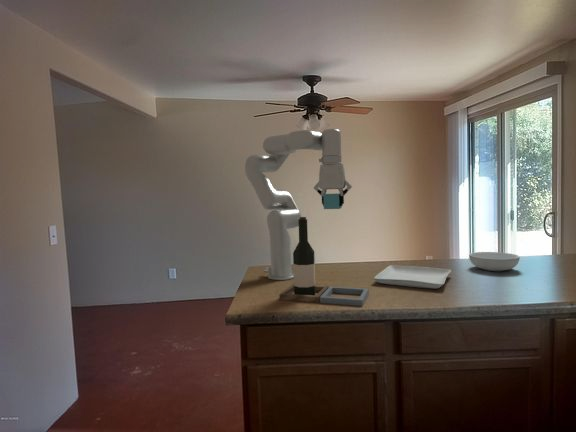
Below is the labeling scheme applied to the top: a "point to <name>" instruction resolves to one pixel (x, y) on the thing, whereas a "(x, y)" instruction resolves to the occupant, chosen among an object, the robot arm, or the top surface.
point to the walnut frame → (307, 298)
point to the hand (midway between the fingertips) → (332, 205)
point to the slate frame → (345, 301)
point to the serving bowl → (494, 260)
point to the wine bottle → (304, 263)
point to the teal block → (331, 201)
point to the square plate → (413, 276)
